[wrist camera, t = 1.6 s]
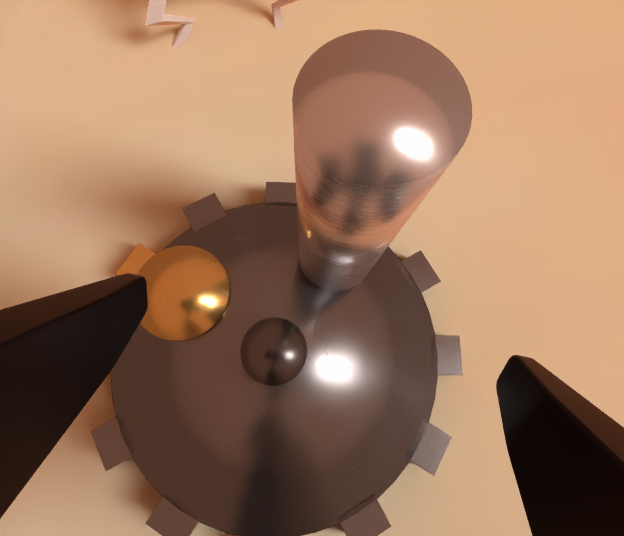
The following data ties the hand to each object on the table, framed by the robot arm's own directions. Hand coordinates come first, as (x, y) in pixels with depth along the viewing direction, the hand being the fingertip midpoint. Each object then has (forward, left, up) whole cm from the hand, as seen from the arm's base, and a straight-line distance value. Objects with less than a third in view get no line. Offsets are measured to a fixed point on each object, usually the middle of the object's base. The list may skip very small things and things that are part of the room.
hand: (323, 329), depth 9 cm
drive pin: (+4, -1, -8) cm, 9 cm away
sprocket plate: (0, +2, -10) cm, 10 cm away
